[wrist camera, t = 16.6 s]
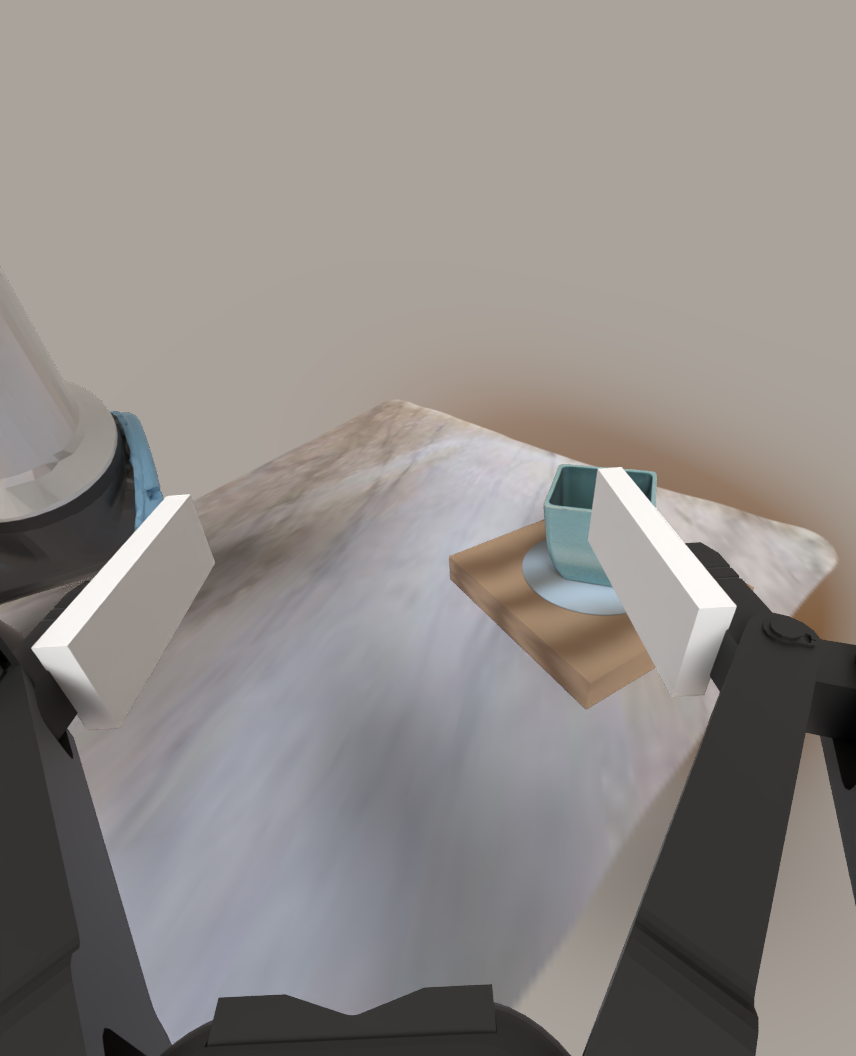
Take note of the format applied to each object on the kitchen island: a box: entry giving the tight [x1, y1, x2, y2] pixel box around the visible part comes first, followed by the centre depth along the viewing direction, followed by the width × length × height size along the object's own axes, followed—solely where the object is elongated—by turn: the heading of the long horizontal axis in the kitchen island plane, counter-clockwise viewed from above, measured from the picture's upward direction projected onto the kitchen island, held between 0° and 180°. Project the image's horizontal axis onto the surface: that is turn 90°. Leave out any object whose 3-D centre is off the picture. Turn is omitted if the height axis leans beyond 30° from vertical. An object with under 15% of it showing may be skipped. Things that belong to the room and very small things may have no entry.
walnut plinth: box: [449, 519, 754, 709], centre depth 49 cm, size 20×20×3 cm
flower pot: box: [544, 464, 657, 587], centre depth 45 cm, size 9×9×9 cm
